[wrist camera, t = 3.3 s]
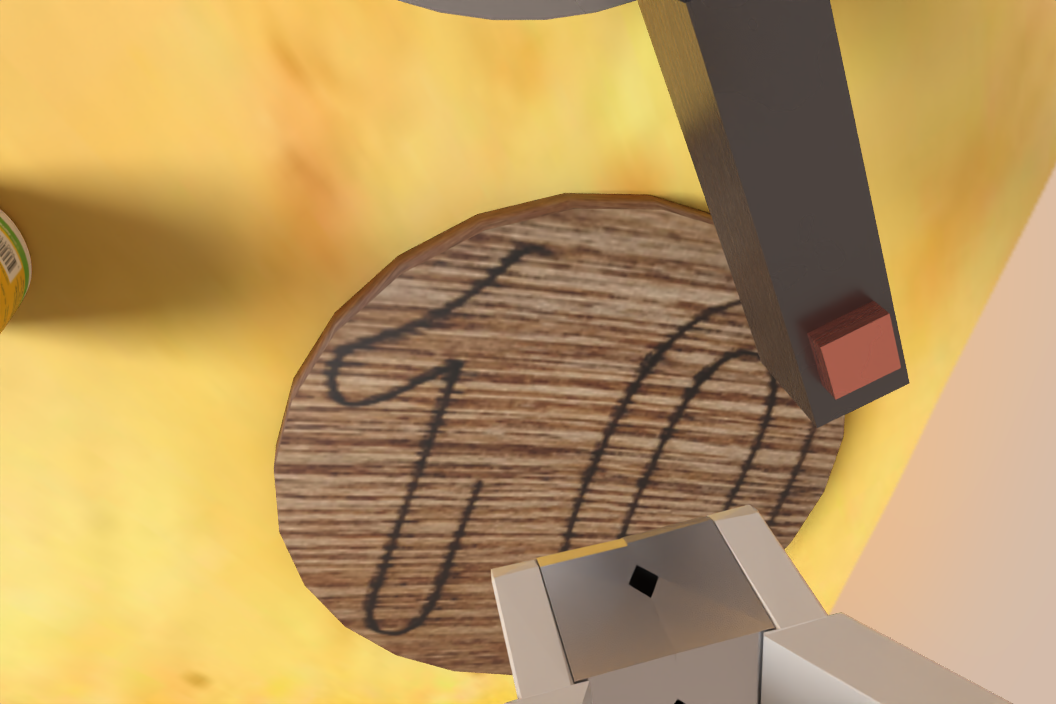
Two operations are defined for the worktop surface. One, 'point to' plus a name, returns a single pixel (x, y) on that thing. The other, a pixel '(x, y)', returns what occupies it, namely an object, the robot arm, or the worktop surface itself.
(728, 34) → the lid
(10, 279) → the supplement bottle
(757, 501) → the trivet
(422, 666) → the worktop surface
